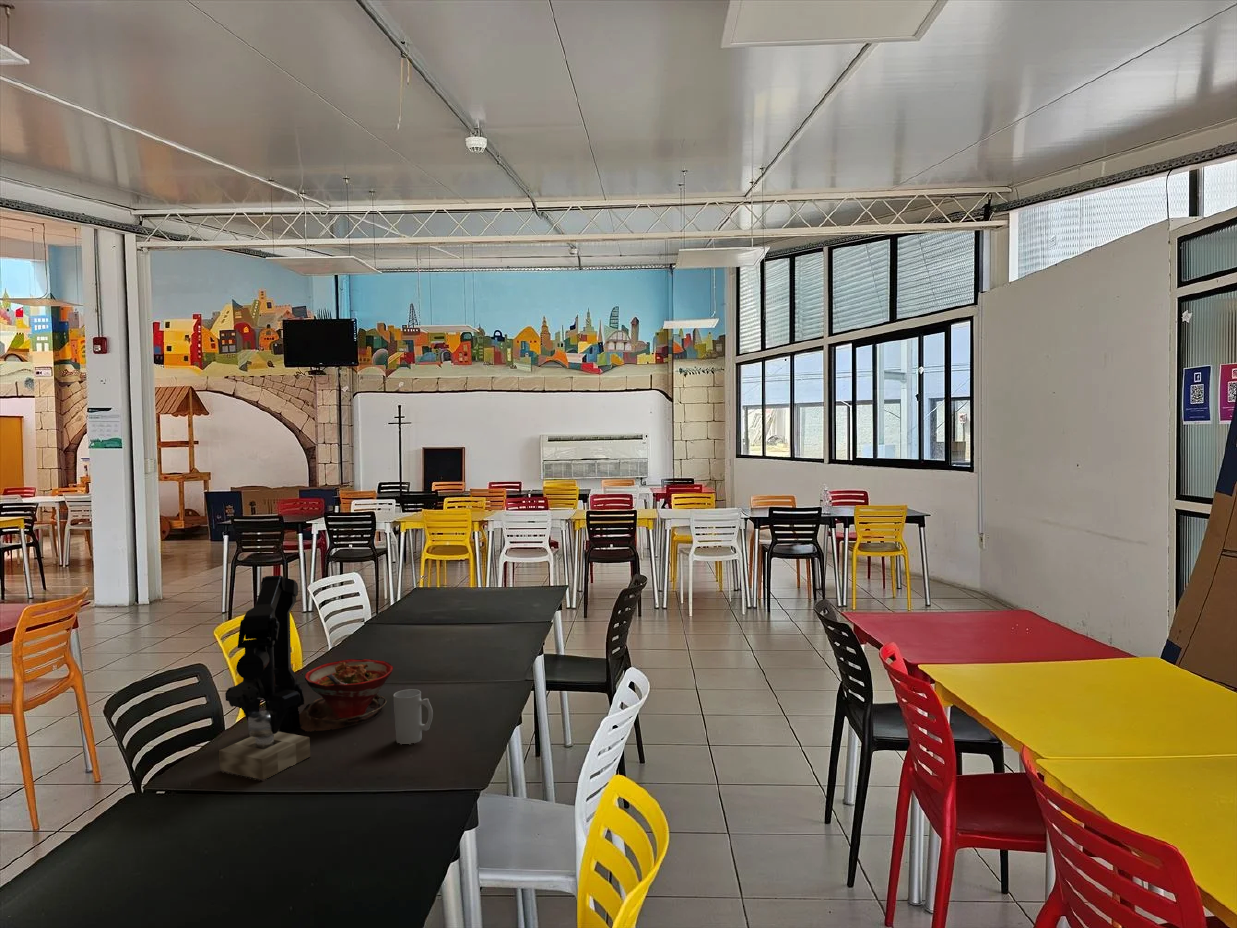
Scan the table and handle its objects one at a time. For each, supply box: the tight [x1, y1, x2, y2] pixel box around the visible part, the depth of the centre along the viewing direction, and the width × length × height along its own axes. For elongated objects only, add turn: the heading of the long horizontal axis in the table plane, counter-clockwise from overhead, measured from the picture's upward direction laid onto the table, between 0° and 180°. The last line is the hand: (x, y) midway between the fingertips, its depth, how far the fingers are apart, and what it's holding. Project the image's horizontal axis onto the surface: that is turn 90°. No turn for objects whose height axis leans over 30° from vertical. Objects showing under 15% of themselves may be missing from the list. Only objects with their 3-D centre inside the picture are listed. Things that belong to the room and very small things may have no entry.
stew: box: [299, 658, 394, 732], centre depth 227 cm, size 28×24×16 cm
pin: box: [247, 709, 279, 750], centre depth 194 cm, size 7×7×9 cm
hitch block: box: [218, 732, 311, 780], centre depth 194 cm, size 14×14×5 cm
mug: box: [393, 688, 434, 745], centre depth 207 cm, size 10×7×12 cm, turn 78°
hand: (264, 731), depth 194 cm, fingers closed on pin, 7 cm apart
